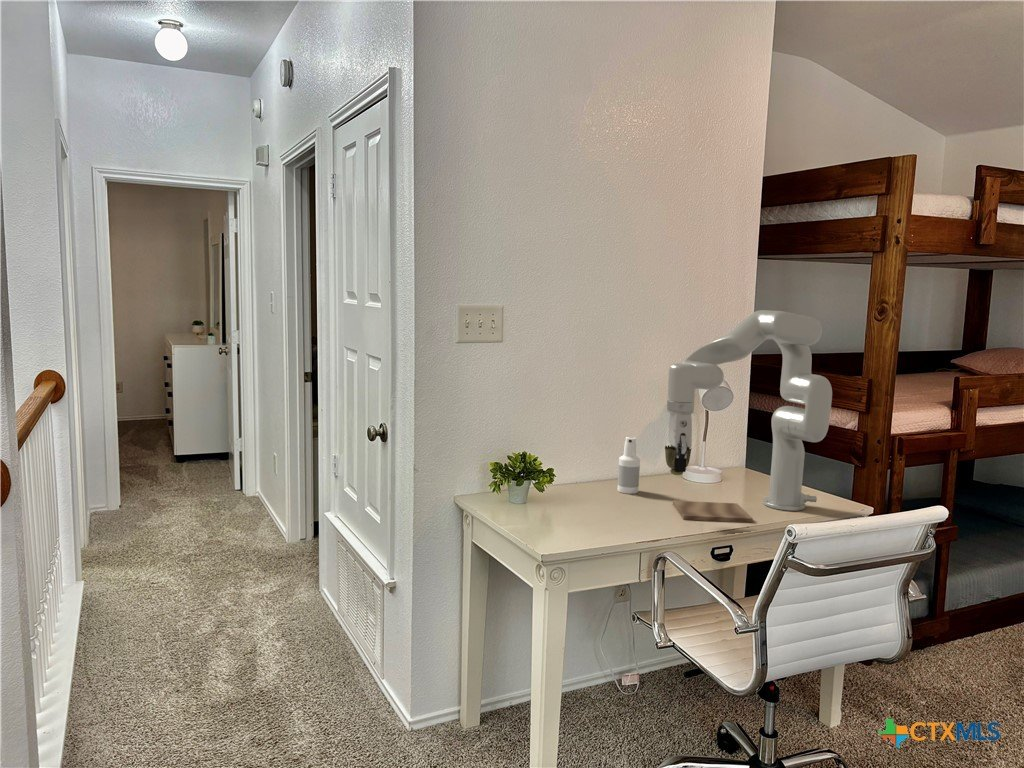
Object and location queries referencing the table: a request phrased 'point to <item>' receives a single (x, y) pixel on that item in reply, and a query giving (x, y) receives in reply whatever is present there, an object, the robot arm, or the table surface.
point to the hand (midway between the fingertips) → (677, 468)
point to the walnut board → (712, 511)
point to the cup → (670, 458)
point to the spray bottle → (629, 468)
